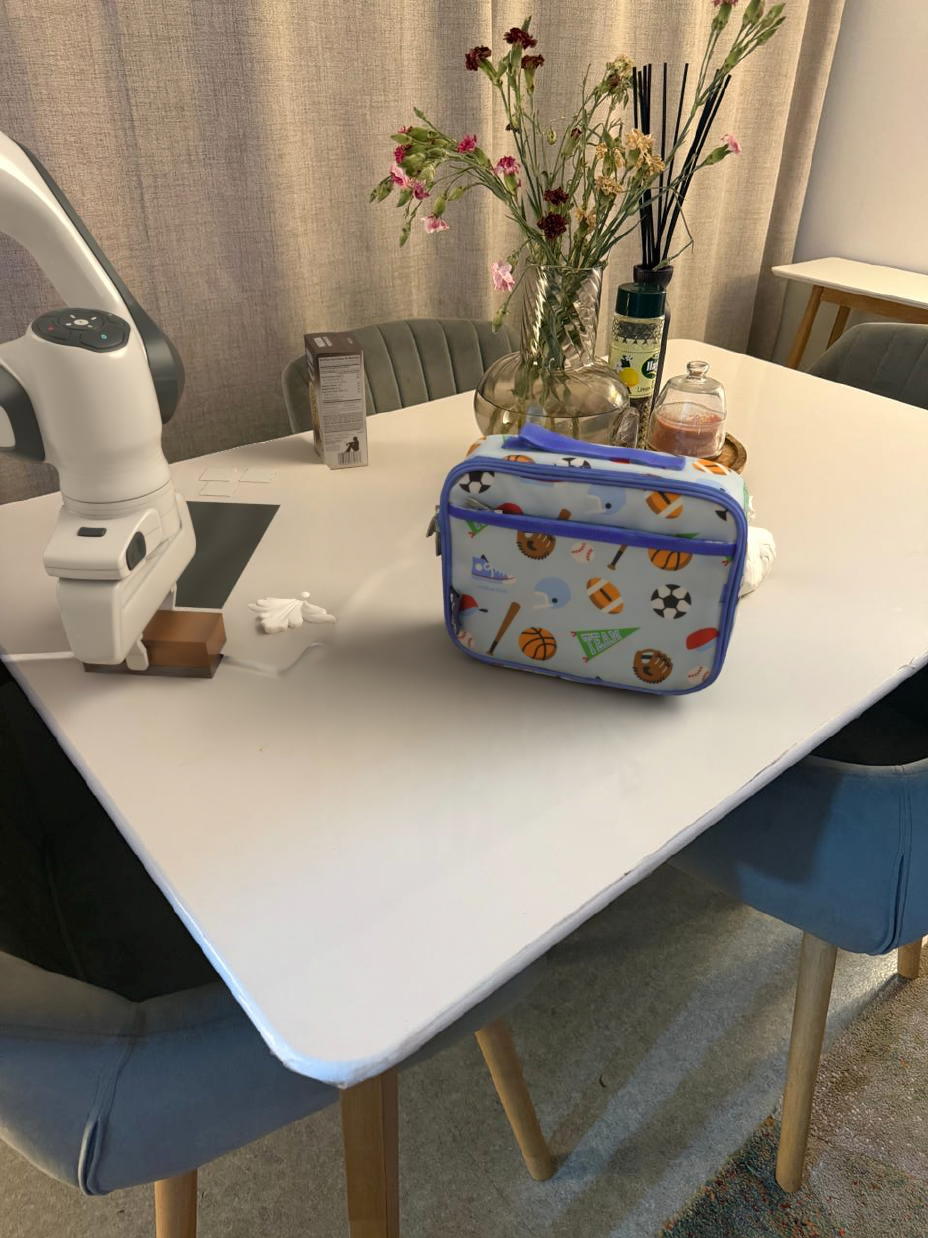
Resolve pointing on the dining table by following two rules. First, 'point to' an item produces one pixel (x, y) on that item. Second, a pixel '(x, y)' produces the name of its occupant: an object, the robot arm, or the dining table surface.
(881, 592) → the dining table surface
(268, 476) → the white square tile
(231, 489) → the chalk piece
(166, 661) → the eraser
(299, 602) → the acanthus leaf ornament
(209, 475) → the chalk piece
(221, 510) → the slate board
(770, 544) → the bust
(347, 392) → the coffee box
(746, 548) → the lunch box
